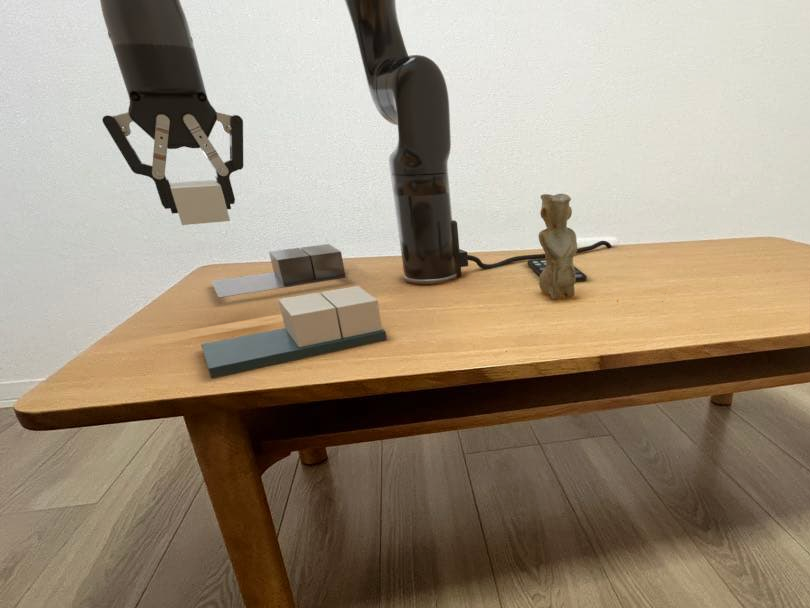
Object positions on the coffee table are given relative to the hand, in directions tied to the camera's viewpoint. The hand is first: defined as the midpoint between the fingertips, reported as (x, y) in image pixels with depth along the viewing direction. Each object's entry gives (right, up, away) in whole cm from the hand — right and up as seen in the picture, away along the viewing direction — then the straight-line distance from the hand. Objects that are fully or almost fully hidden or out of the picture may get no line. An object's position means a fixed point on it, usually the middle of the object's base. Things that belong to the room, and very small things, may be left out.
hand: (201, 210), depth 66 cm
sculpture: (+44, -7, +20) cm, 49 cm away
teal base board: (+11, -16, +2) cm, 20 cm away
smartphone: (+44, 0, +32) cm, 55 cm away
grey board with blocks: (-3, -3, +27) cm, 27 cm away
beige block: (0, -1, 0) cm, 1 cm away
